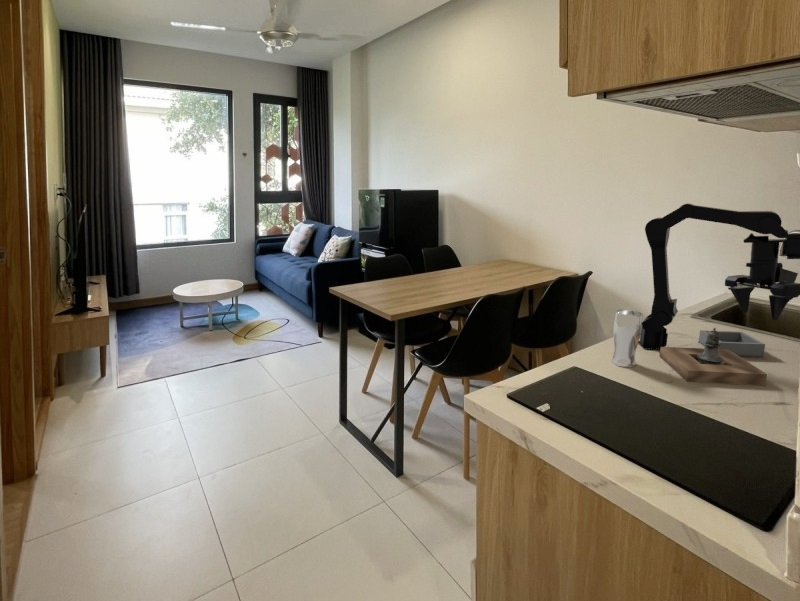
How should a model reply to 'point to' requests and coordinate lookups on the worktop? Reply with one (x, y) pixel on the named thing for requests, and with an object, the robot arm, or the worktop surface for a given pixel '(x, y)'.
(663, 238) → the robot arm
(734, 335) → the bin
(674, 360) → the socket block
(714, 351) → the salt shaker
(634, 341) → the beer glass
